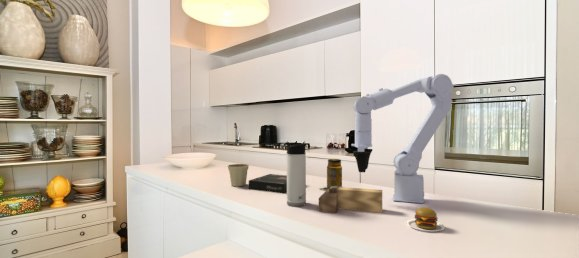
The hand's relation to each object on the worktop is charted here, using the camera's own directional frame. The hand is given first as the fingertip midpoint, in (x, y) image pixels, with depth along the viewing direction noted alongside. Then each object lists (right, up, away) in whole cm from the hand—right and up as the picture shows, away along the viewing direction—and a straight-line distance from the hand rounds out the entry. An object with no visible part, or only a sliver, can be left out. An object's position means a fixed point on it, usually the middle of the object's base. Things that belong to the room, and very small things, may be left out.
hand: (363, 170), depth 105 cm
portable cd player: (-31, -10, +20) cm, 38 cm away
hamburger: (+9, -11, -28) cm, 32 cm away
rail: (-5, -10, -12) cm, 16 cm away
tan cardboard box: (-12, -10, -9) cm, 18 cm away
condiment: (-9, -10, +15) cm, 20 cm away
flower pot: (-48, -10, +24) cm, 54 cm away
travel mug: (-24, -10, -6) cm, 26 cm away
